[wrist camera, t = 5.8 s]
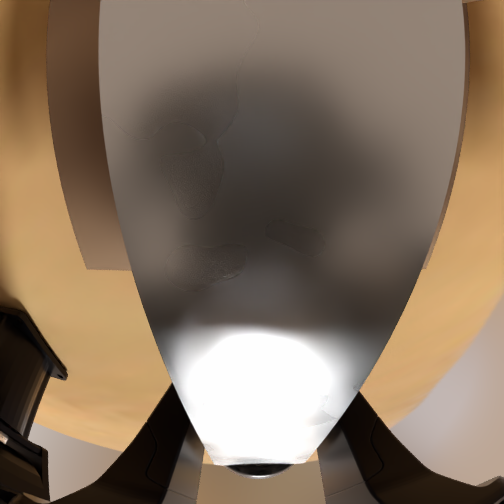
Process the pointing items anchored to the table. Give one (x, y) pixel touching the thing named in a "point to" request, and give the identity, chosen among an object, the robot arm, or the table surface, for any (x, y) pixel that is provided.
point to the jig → (92, 136)
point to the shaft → (277, 197)
